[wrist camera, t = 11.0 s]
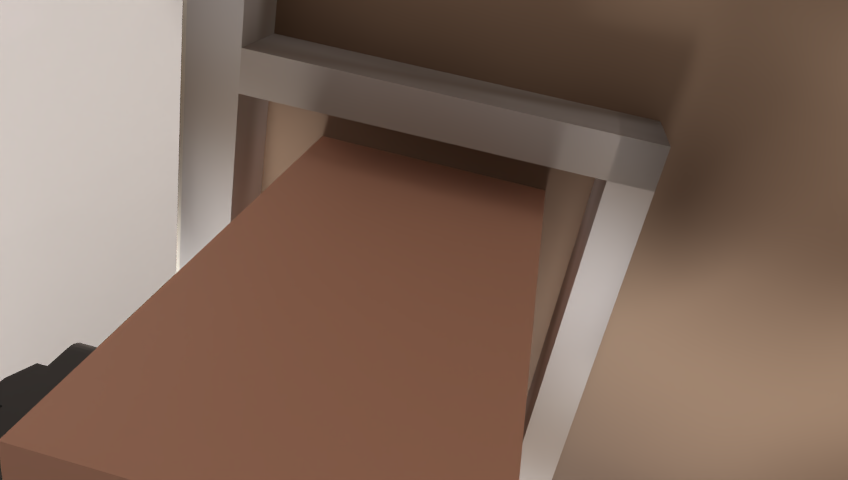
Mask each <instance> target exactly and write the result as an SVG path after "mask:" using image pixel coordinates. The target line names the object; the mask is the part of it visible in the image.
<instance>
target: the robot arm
mask: <svg viewBox="0 0 848 480" xmlns="http://www.w3.org/2000/svg"><path fill="white" fill-rule="evenodd" d="M96 348H97V347H93V346H89V345H86V344H82V343H76V344H73V345H71V346H70V347H69V348H67V349H66V350H65V351H64V352H63V353H62V354H61V355H60V356H58V357H57V358H56V359H55V360H54V361H53V362H52V363H51V364H49V365H48V366H45V365H41V364H38V363H37V364H35V365H32V366H30V367H28V368H26V369H24V370H22V371H19V372H17V373H15V374H13V375H11V376H8V377H6V378H4V379H3V380H2V381H1V382H0V438H1V437H2V436H3V435H5V434H6V433H7V432H8V431H9V430H10V429H11V428H12V427H13V426H14V425H15V424H16V423H17V422H18V421H19V420H21V419H22V418H23V417H24V416H25V415H26V414H27V413H28V412H29V411H30V410H31V409H32V408H33V407H34V406H35V405H36V404H38V403H39V402H40V401H41V400H42V399H43V398H44V397H45V396H46V395H47V394H48V393H49V392H50V391H51V390H52V389H54V388H55V387H56V386H57V385H58V384H59V383H60V382H61V381H62V380H63V379H64V378H65V377H66V376H67V375H68V374H69V373H71V372H72V371H73V370H74V369H75V368H76V367H77V366H78V365H79V364H80V363H81V362H82V361H83V360H84V359H85V358H87V357H88V356H89V355H90V354H91V353H92V352H93V351H94V350H95V349H96ZM0 480H2V472H1V464H0Z"/></svg>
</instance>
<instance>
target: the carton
mask: <svg viewBox="0 0 848 480" xmlns="http://www.w3.org/2000/svg"><path fill="white" fill-rule="evenodd" d="M544 200H545V190H541V189H537V188H533V187H529V186H525V185H521V184H517V183H513V182H509V181H505V180H500V179H496V178H492V177H488V176H484V175H480V174H476V173H472V172H468V171H464V170H460V169H456V168H451V167H447V166H443V165H439V164H435V163H431V162H427V161H423V160H419V159H415V158H411V157H407V156H402V155H398V154H394V153H390V152H386V151H382V150H378V149H374V148H370V147H366V146H362V145H358V144H353V143H349V142H345V141H341V140H337V139H333V138H329V137H325V136H322V137H321V138H320V139H319V140H318V141H317V142H315V143H314V144H313V145H312V146H311V147H310V148H309V149H308V150H307V151H306V152H305V153H304V154H303V155H302V156H301V157H299V158H298V159H297V160H296V161H295V162H294V163H293V164H292V165H291V166H290V167H289V168H288V169H287V170H286V171H285V172H284V173H282V174H281V175H280V176H279V177H278V178H277V179H276V180H275V181H274V182H273V183H272V184H271V185H270V186H269V187H268V188H266V189H265V190H264V191H263V192H262V193H261V194H260V195H259V196H258V197H257V198H256V199H255V200H254V201H253V202H252V203H251V204H249V205H248V206H247V207H246V208H245V209H244V210H243V211H242V212H241V213H240V214H239V215H238V216H237V217H236V218H235V219H233V220H232V221H231V222H230V223H229V224H228V225H227V226H226V227H225V228H224V229H223V230H222V231H221V232H220V233H219V234H217V235H216V236H215V237H214V238H213V239H212V240H211V241H210V242H209V243H208V244H207V245H206V246H205V247H204V248H203V249H202V250H200V251H199V252H198V253H197V254H196V255H195V256H194V257H193V258H192V259H191V260H190V261H189V262H188V263H187V264H186V265H184V266H183V267H182V268H181V269H180V270H179V271H178V272H177V273H176V274H175V275H174V276H173V277H172V278H171V279H170V280H169V281H167V282H166V283H165V284H164V285H163V286H162V287H161V288H160V289H159V290H158V291H157V292H156V293H155V294H154V295H153V296H151V297H150V298H149V299H148V300H147V301H146V302H145V303H144V304H143V305H142V306H141V307H140V308H139V309H138V310H137V311H136V312H134V313H133V314H132V315H131V316H130V317H129V318H128V319H127V320H126V321H125V322H124V323H123V324H122V325H121V326H120V327H118V328H117V329H116V330H115V331H114V332H113V333H112V334H111V335H110V336H109V337H108V338H107V339H106V340H105V341H104V342H103V343H101V344H100V345H99V346H98V347H97V348H96V349H95V350H94V351H93V352H92V353H91V354H90V355H89V356H88V357H87V358H85V359H84V360H83V361H82V362H81V363H80V364H79V365H78V366H77V367H76V368H75V369H74V370H73V371H72V372H71V373H69V374H68V375H67V376H66V377H65V378H64V379H63V380H62V381H61V382H60V383H59V384H58V385H57V386H56V387H55V388H54V389H52V390H51V391H50V392H49V393H48V394H47V395H46V396H45V397H44V398H43V399H42V400H41V401H40V402H39V403H38V404H36V405H35V406H34V407H33V408H32V409H31V410H30V411H29V412H28V413H27V414H26V415H25V416H24V417H23V418H22V419H21V420H19V421H18V422H17V423H16V424H15V425H14V426H13V427H12V428H11V429H10V430H9V431H8V432H7V433H6V434H5V435H3V436H2V437H1V438H0V464H1V472H2V480H519V477H520V466H521V455H522V444H523V433H524V422H525V411H526V399H527V388H528V377H529V366H530V355H531V344H532V333H533V322H534V311H535V300H536V289H537V278H538V267H539V256H540V245H541V234H542V223H543V211H544Z"/></svg>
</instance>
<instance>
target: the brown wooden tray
mask: <svg viewBox="0 0 848 480" xmlns="http://www.w3.org/2000/svg"><path fill="white" fill-rule="evenodd" d="M322 136H325V137H329V138H333V139H337V140H341V141H345V142H349V143H353V144H358V145H362V146H366V147H370V148H374V149H378V150H382V151H386V152H390V153H394V154H398V155H402V156H407V157H411V158H415V159H419V160H423V161H427V162H431V163H435V164H439V165H443V166H447V167H451V168H456V169H460V170H464V171H468V172H472V173H476V174H480V175H484V176H488V177H492V178H496V179H500V180H505V181H509V182H513V183H517V184H521V185H525V186H529V187H533V188H537V189H541V190H545V200H544V211H543V223H542V234H541V245H540V256H539V267H538V278H537V289H536V300H535V311H534V322H533V333H532V344H531V355H530V366H529V377H528V388H527V399H526V411H525V422H524V433H523V444H522V455H521V466H520V477H519V480H848V0H183V15H182V55H181V94H180V134H179V173H178V212H177V252H176V273H177V272H178V271H179V270H180V269H181V268H182V267H183V266H184V265H186V264H187V263H188V262H189V261H190V260H191V259H192V258H193V257H194V256H195V255H196V254H197V253H198V252H199V251H200V250H202V249H203V248H204V247H205V246H206V245H207V244H208V243H209V242H210V241H211V240H212V239H213V238H214V237H215V236H216V235H217V234H219V233H220V232H221V231H222V230H223V229H224V228H225V227H226V226H227V225H228V224H229V223H230V222H231V221H232V220H233V219H235V218H236V217H237V216H238V215H239V214H240V213H241V212H242V211H243V210H244V209H245V208H246V207H247V206H248V205H249V204H251V203H252V202H253V201H254V200H255V199H256V198H257V197H258V196H259V195H260V194H261V193H262V192H263V191H264V190H265V189H266V188H268V187H269V186H270V185H271V184H272V183H273V182H274V181H275V180H276V179H277V178H278V177H279V176H280V175H281V174H282V173H284V172H285V171H286V170H287V169H288V168H289V167H290V166H291V165H292V164H293V163H294V162H295V161H296V160H297V159H298V158H299V157H301V156H302V155H303V154H304V153H305V152H306V151H307V150H308V149H309V148H310V147H311V146H312V145H313V144H314V143H315V142H317V141H318V140H319V139H320V138H321V137H322Z"/></svg>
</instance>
